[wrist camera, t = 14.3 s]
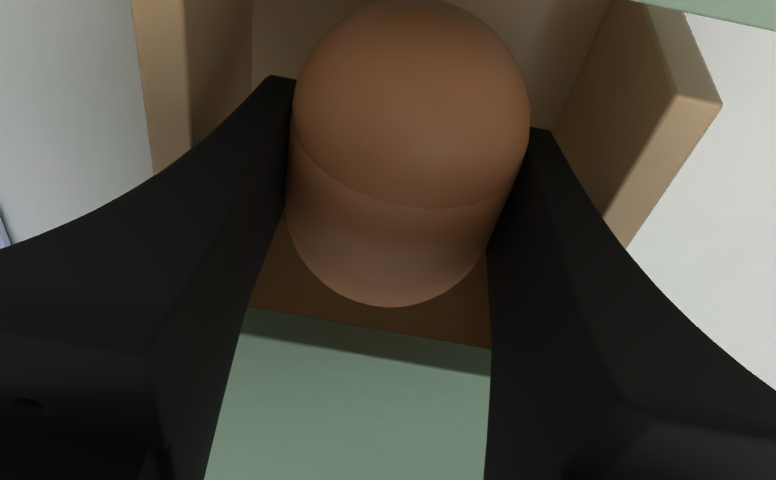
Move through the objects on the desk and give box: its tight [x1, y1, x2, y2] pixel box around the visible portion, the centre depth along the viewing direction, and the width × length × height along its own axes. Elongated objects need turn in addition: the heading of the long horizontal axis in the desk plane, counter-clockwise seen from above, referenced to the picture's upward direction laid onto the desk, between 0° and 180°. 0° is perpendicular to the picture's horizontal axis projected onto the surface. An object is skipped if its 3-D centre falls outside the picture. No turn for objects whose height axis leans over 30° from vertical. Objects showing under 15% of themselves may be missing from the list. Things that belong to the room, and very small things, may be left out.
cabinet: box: [204, 306, 491, 480], centre depth 21 cm, size 14×12×8 cm
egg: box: [285, 0, 531, 307], centre depth 12 cm, size 6×4×4 cm
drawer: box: [130, 0, 776, 349], centre depth 12 cm, size 17×10×6 cm, turn 170°
